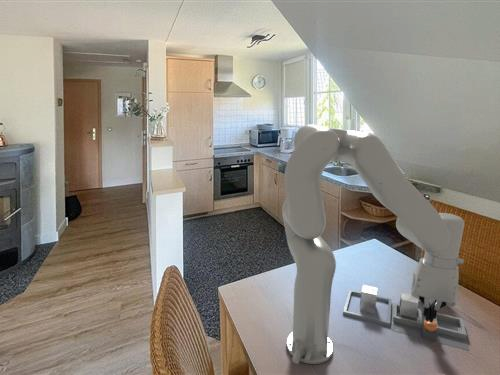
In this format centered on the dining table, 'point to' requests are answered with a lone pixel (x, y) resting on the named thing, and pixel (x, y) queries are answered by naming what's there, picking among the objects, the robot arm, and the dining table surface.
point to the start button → (430, 326)
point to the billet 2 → (408, 306)
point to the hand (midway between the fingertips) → (428, 318)
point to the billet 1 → (368, 299)
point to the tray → (368, 316)
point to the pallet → (439, 337)
